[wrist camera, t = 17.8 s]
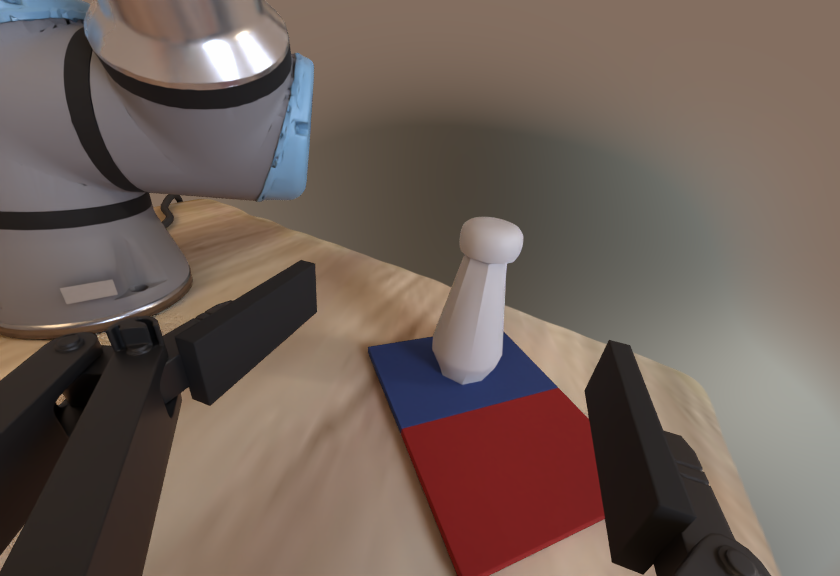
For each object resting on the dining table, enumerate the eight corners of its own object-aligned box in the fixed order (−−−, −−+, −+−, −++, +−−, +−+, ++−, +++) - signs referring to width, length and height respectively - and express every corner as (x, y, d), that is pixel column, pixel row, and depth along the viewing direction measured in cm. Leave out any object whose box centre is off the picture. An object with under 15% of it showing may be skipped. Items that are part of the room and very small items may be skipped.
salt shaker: (466, 339, 33) (496, 207, 27) (509, 377, 29) (556, 232, 23) (415, 356, 30) (436, 212, 23) (456, 402, 26) (494, 241, 19)
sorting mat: (367, 351, 31) (367, 346, 30) (497, 330, 36) (498, 325, 36) (462, 589, 16) (464, 583, 16) (653, 495, 22) (658, 489, 21)
